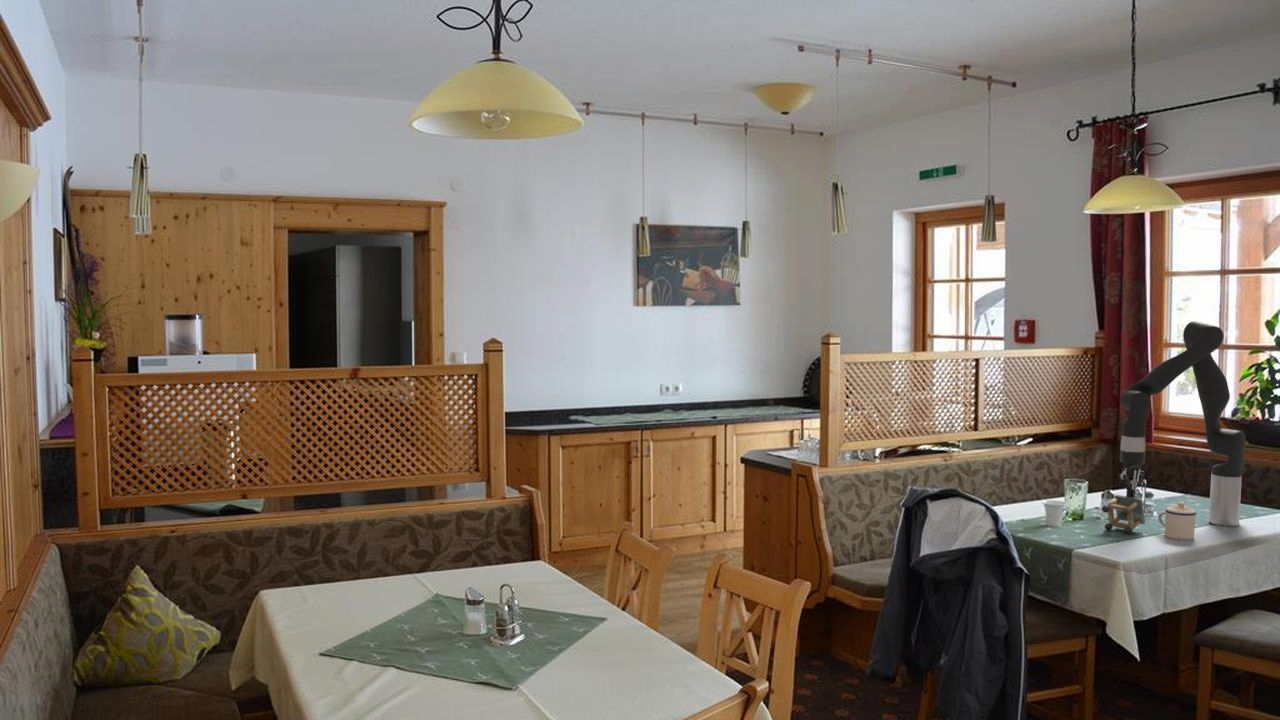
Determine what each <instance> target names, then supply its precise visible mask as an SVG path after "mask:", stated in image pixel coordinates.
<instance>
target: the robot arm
mask: <svg viewBox="0 0 1280 720" xmlns="http://www.w3.org/2000/svg"><path fill="white" fill-rule="evenodd" d="M1182 336H1183V343H1184V346H1185V348H1186V350H1184V351H1182V352H1181V353H1178V354H1177V355H1175V356H1172V357H1170V358H1168V359H1166V360H1164V361H1162V362H1160V363H1158V365H1156V366H1155V367H1154V368H1153V369H1152V370H1150V371H1149V372H1148V373H1147V374H1146V375H1145V376H1144V377H1143V378H1142V379H1141V380H1139V381H1137V382H1135V383H1134V384H1132V385H1131V386H1129V387H1128V388H1126V390H1124V391H1123V392H1122V394H1121V396H1120V397H1119V404H1120V406H1121V407H1122V408H1123V409H1125V410H1127V411H1128V415H1127V418H1125V419H1123V421H1122V427H1121V428H1122V429H1121V440H1120V451H1119V453H1120V454H1119V463H1121V464H1123V467H1122V473H1118V476H1117V477H1118V479H1119V482H1120V484H1121V486H1122V488H1125V489H1126V494H1125V496H1127V497H1132V498H1136V490H1137V489H1138V487H1140V486H1141V483H1142V481H1143V478H1144V476H1145V475H1146V473H1145V471H1142V470H1141V469H1142V467H1141V465H1144V464H1145V461H1146V459H1145V458H1146V424H1147V421H1148V418H1149V415H1150V411H1151V399H1150V397H1151V396H1153V395H1158V394H1160V393H1161V392H1163V391H1164V390H1165V389H1166V388H1167V387H1168V386H1169V385H1170V384H1171V383H1172V382H1174V381H1175V379H1177V378H1178V377H1179V376H1181V375H1182V373H1183V374H1184V372H1186V371H1187V370H1188V369H1190V368H1191V367H1192V370H1193V374H1194V380H1195V383H1196V388H1197V393H1198V397H1199V400H1200V406H1201V409H1202V414H1203V419H1204V427H1205V434H1206V435H1205V436H1206V443H1207V447H1208V449H1209V451H1210V452H1211V453H1212V454H1215V455H1219V456H1225V457H1227V460H1226V462H1223V463H1219V464H1215V465H1212V467H1211V470H1210V471H1211V472H1210V474H1211V475H1210V491H1209V492H1210V493H1209V494H1210V495H1209V513H1208V515H1209V516H1208V522H1209V523H1210V522H1211V524H1214V525H1218V526H1225V527H1235V526H1236V527H1238V526H1239V525H1240V514H1241V513H1240V512H1241V511H1240V510H1241V495H1242V492H1241V491H1242V476H1243V469H1244V465H1245V454H1246V447H1247V446H1246V445H1247V438H1246V436H1245V435H1246V434H1244V432H1243V431H1242V430H1237V429H1236V430H1235V429H1228V428H1223V427H1222V425H1221V416H1222V413H1224V411H1225V409H1226V407H1227V406H1228V403H1229V401H1230V398H1231V396H1230V395H1231V394H1230V389H1229V386H1228V381H1227V378H1226V376H1225V373H1224V372H1223V371H1222V370H1221V368H1220V367H1219V366H1218V364H1217V362H1216V361H1215V359H1214V358H1213V355H1212V353H1214V352H1215V351H1216V350H1217V349H1219V348H1220V346H1221V345H1222V343H1223V342H1224V337H1225V335H1224V332H1223V330H1222V328H1220V327H1219V326H1217V325H1214V324H1210V323H1208V322H1205V321H1201V320H1193V321H1190V322H1188V323H1187V324H1186V325H1185V327H1184V329H1183V334H1182Z"/></svg>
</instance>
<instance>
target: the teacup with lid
mask: <svg viewBox="0 0 1280 720" xmlns="http://www.w3.org/2000/svg"><path fill="white" fill-rule="evenodd" d="M1163 515H1165V523H1164V521H1163V520H1162V519H1163V518H1162V516H1163ZM1196 515H1197V511H1196V510H1195V509H1193V508H1191V507H1189V506H1187V505H1185V502H1183V501H1177V504H1174V505H1171V506H1168V507H1166V508H1165V510H1164V511H1160V513H1158V516H1157V519H1158V522H1159V524H1160V525H1161V526H1163V528H1164V535H1165V536H1166V537H1167V538H1170V539H1173V538H1174V539H1175V540H1180V539H1181V540H1182V541H1183V540H1184V541H1188V540H1189V541H1190V540H1193V539H1194V538H1195V531H1196V529H1195V526H1196ZM1181 540H1180V541H1181Z"/></svg>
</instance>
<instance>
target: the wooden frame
mask: <svg viewBox="0 0 1280 720" xmlns="http://www.w3.org/2000/svg"><path fill="white" fill-rule="evenodd" d="M1113 496H1114V498H1113V500H1112V501H1110V502H1109V503H1108V504H1105V505H1103V506H1102V507H1101V511H1102V512H1103V513H1107V515H1108V521H1109V522H1107V523H1106V524H1105V525H1104V529H1105V530H1106V531H1108V530H1109V531H1111V530H1112V529H1113V528H1119V529H1123V532H1124V533H1123V534H1126V535H1127V534H1128V535H1130V534H1132V533H1133V530H1134V529H1135V528H1137V527H1138V526H1139V525H1144V524H1146V521H1145V513H1144V507H1143V501H1142V498H1137V497H1135V498H1132V497H1127V496H1126V495H1120V494H1115V495H1113ZM1114 510H1115V511H1116V515H1117V516H1116V517H1115V512H1114ZM1120 521H1124V522H1127V523H1124V522H1120ZM1128 535H1127V536H1128Z"/></svg>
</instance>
